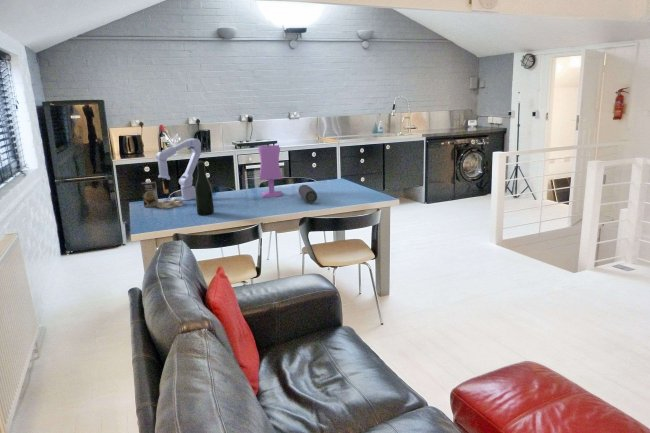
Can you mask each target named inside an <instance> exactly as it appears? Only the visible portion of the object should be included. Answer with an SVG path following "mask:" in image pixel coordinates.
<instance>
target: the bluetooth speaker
mask: <svg viewBox="0 0 650 433" xmlns="http://www.w3.org/2000/svg"><path fill="white" fill-rule="evenodd" d="M298 195H299V196H300V197H301V198H302V199H303V200H304V201H305V202H306V203H308V204H312V203H315V202H316V201H317V200H318V194H317V192H316V190H315V189H314V188H312V187H311V186H309V185H307V184H301V185H300V186H299V187H298Z"/></svg>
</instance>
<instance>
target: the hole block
mask: <svg viewBox="0 0 650 433" xmlns="http://www.w3.org/2000/svg"><path fill="white" fill-rule="evenodd" d="M183 201H184V200H181V199H178V198H174V199H173V198H172V199H168V200H163V201H158V202H157V206H156V207H157V208H159V209H162V210H166V209H170V208H175V207H181V206H184V204H183V203H184V202H183Z"/></svg>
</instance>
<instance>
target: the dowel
mask: <svg viewBox="0 0 650 433" xmlns="http://www.w3.org/2000/svg"><path fill="white" fill-rule="evenodd" d="M162 180H163V179H162ZM162 189H163V194H164V195H165V194H169V193H170V192H169V189H165V187H164V184H163V187H162Z"/></svg>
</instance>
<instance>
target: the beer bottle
mask: <svg viewBox="0 0 650 433" xmlns="http://www.w3.org/2000/svg"><path fill="white" fill-rule="evenodd" d="M205 166H206V165H205V162H204V161H203V160H198V162H197V164H196V167H197V180H196V183H195V186H194V187H195V195H196V199H195V206H196V214H197V215H198V216H209V215H212V214H214V213H215V204H214V196H213V189H212V186H211V185H212V184H211V183H210V181H209V179H208V177H207V173H206V167H205Z"/></svg>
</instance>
